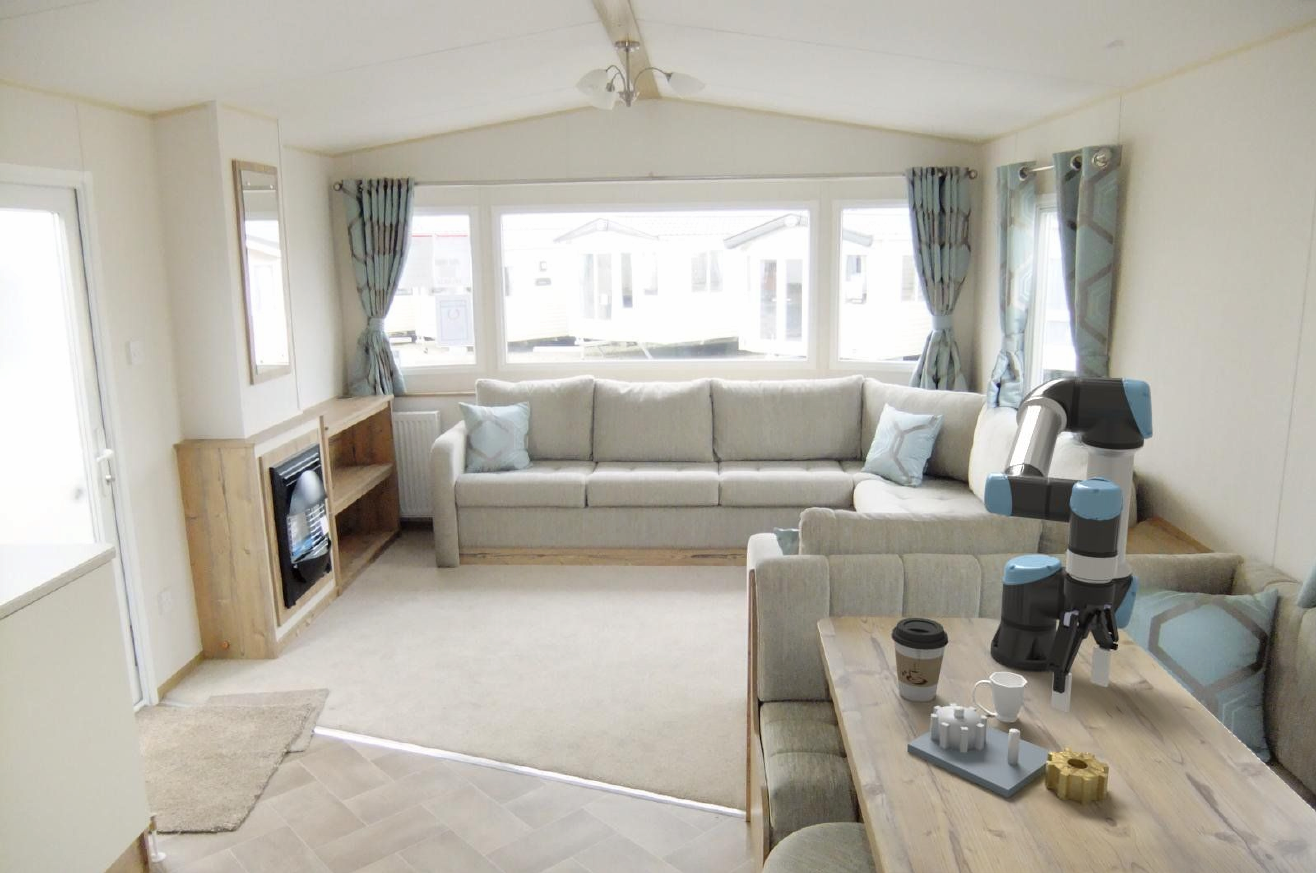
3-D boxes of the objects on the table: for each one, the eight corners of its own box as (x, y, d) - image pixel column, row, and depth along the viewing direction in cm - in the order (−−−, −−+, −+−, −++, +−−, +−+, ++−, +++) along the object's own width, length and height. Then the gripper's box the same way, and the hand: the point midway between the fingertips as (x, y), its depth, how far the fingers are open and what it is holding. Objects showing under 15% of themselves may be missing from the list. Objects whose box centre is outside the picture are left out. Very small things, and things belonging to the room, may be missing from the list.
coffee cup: (885, 701, 191) (887, 632, 188) (893, 677, 202) (895, 612, 199) (942, 710, 187) (946, 640, 184) (948, 686, 197) (951, 619, 194)
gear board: (958, 720, 183) (960, 685, 182) (1057, 761, 168) (1060, 723, 167) (907, 750, 172) (908, 713, 171) (1007, 797, 157) (1010, 757, 156)
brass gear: (1061, 765, 167) (1063, 742, 166) (1117, 788, 159) (1120, 765, 159) (1033, 786, 161) (1035, 762, 160) (1090, 811, 153) (1092, 786, 152)
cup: (1026, 728, 180) (1028, 689, 178) (971, 720, 183) (973, 682, 181) (1024, 710, 187) (1026, 673, 185) (971, 704, 190) (973, 667, 188)
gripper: (1102, 554, 163) (1093, 667, 167) (1028, 587, 148) (1020, 711, 152) (1147, 564, 158) (1136, 681, 162) (1075, 600, 142) (1064, 728, 146)
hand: (1080, 696), depth 157 cm, fingers open, 13 cm apart
